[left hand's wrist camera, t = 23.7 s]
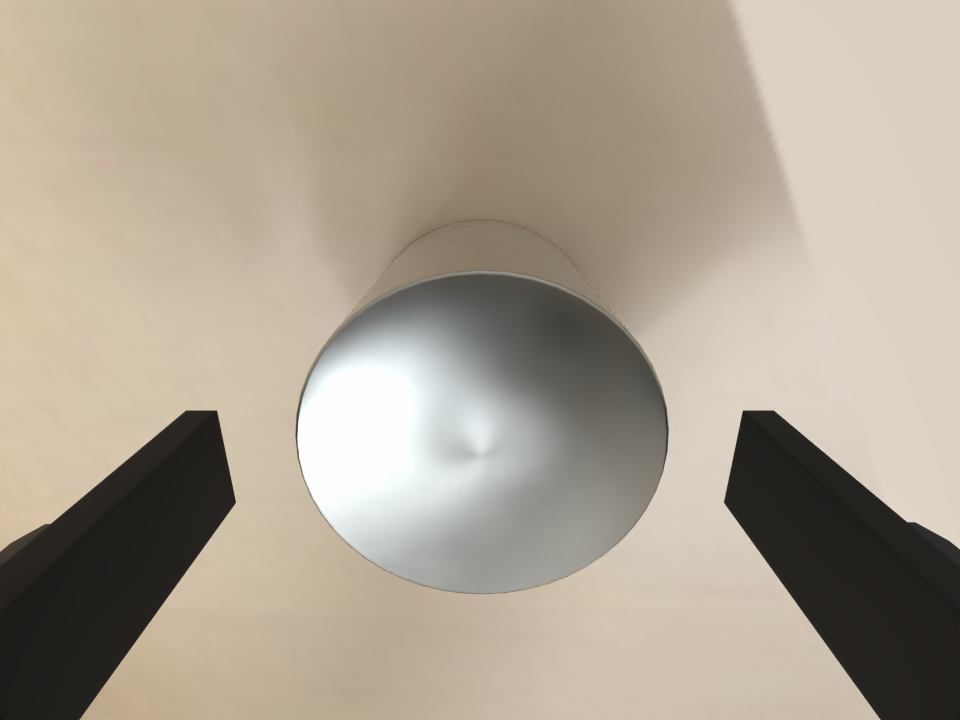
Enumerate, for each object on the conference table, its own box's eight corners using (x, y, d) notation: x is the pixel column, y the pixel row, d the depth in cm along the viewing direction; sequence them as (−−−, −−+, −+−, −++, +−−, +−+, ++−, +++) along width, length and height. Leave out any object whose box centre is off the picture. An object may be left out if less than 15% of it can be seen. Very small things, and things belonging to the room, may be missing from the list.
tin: (546, 178, 19) (598, 198, 10) (622, 386, 22) (711, 532, 13) (329, 277, 20) (218, 366, 12) (430, 459, 23) (400, 633, 15)
